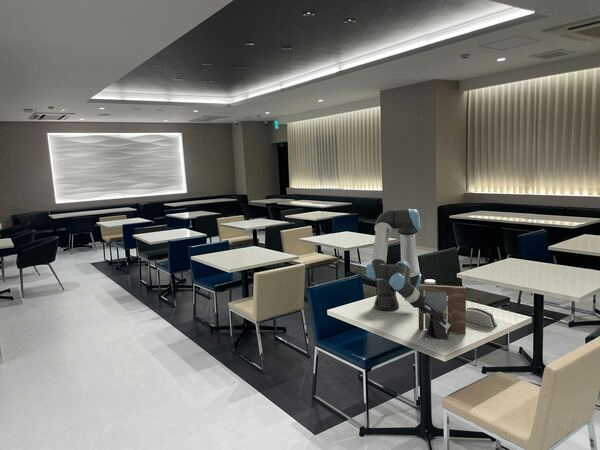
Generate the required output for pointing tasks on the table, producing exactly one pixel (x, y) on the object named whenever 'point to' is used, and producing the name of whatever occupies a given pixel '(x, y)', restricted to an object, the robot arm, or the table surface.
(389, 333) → the table surface
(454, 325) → the door frame
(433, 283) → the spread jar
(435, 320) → the phone stand
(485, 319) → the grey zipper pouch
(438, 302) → the door
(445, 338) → the mat
